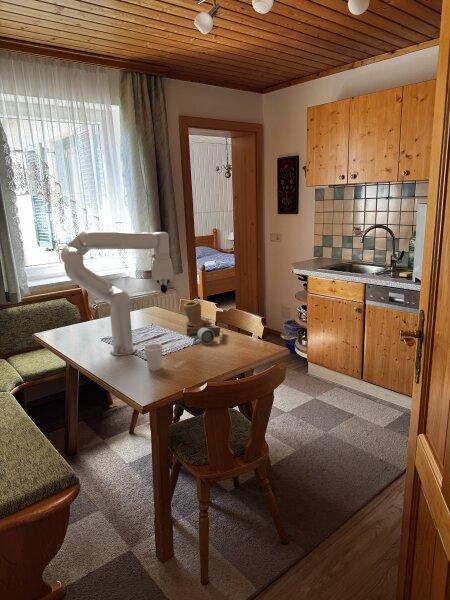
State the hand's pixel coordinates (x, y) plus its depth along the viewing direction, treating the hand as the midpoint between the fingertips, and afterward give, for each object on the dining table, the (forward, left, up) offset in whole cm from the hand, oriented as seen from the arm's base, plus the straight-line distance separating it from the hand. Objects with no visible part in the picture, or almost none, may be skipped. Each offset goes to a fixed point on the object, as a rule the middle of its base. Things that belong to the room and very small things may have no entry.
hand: (164, 292), depth 210 cm
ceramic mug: (0, -19, -27) cm, 33 cm away
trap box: (+5, -19, -27) cm, 33 cm away
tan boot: (+29, -13, -27) cm, 42 cm away
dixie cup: (-34, 0, -27) cm, 44 cm away
